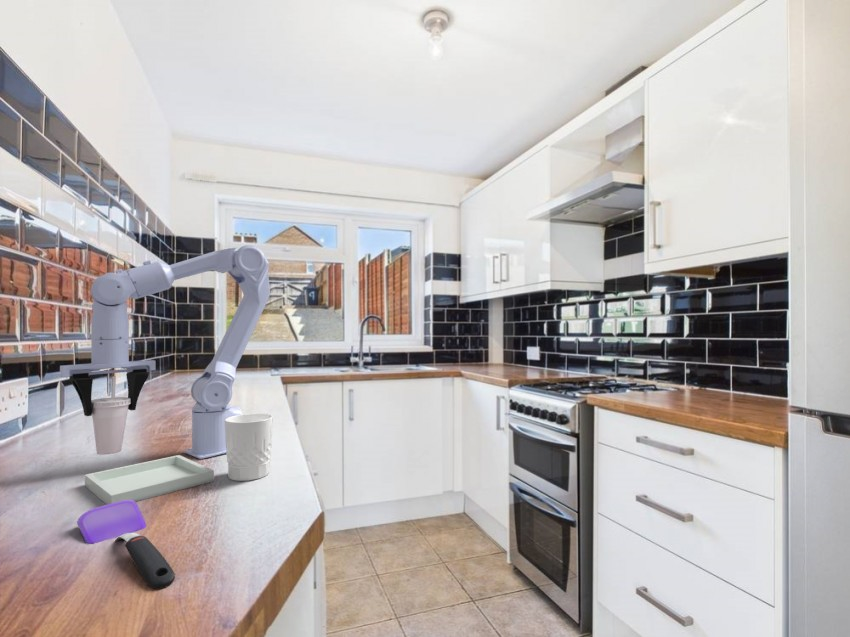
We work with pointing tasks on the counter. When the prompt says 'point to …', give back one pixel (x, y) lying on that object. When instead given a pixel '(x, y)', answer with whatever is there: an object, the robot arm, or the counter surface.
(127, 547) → the spatula
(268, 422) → the white cup
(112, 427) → the smoothie
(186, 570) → the counter surface
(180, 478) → the tray
